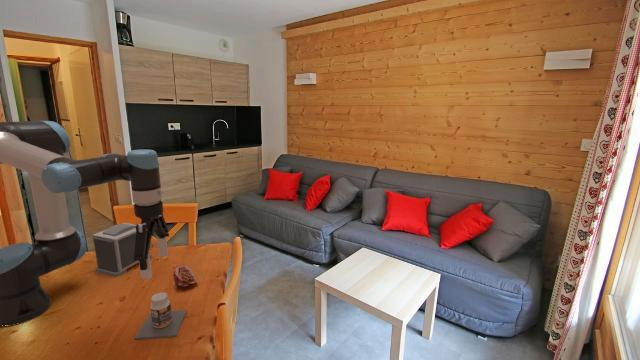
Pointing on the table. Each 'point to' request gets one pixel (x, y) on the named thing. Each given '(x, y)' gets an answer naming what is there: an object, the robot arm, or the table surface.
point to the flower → (183, 276)
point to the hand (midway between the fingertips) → (155, 266)
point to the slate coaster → (168, 331)
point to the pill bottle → (160, 310)
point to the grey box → (115, 249)
